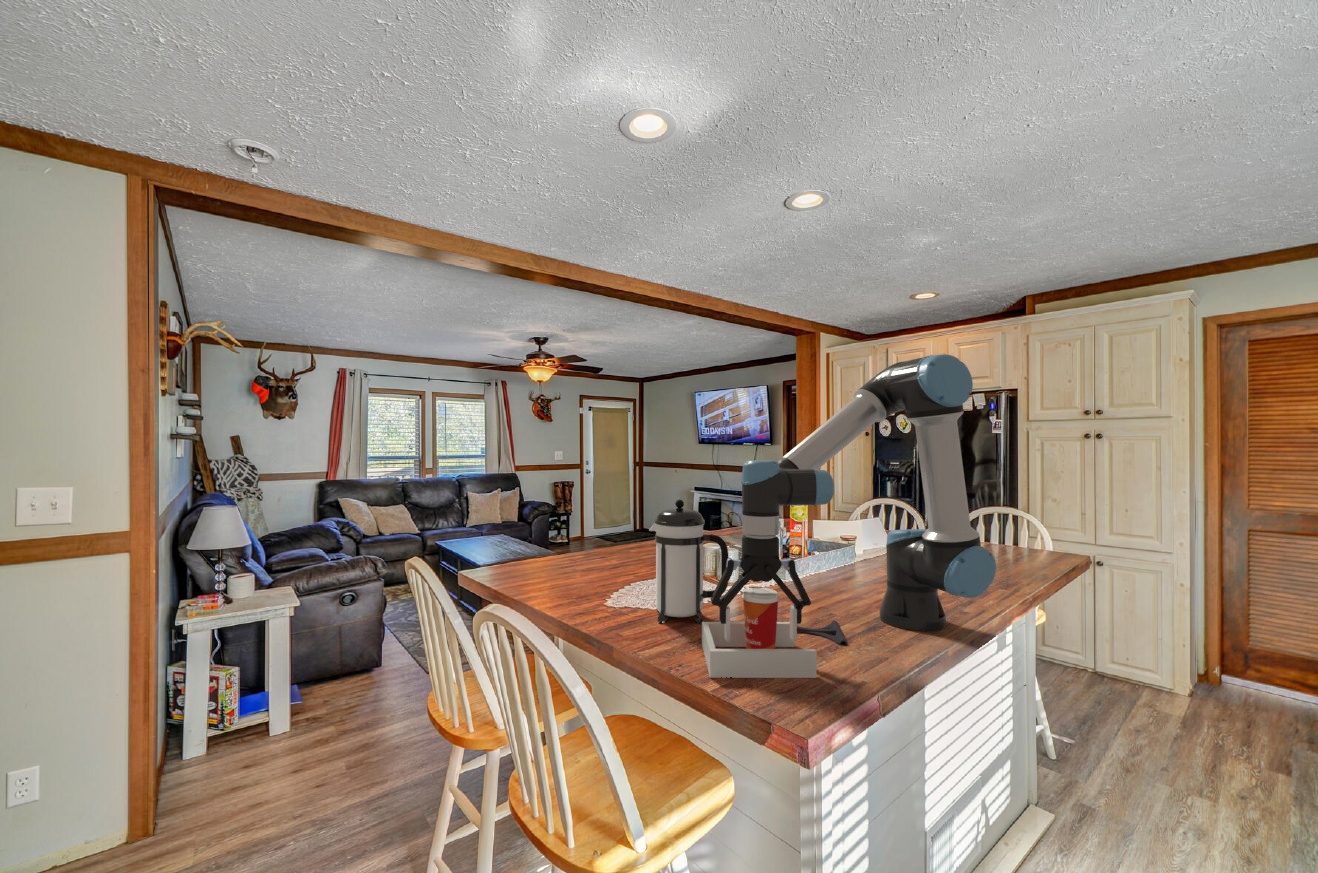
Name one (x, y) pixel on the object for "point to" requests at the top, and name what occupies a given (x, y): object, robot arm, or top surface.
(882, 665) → the top surface
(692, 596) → the coffee press
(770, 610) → the paper cup
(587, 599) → the top surface
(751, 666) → the box
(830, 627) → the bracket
